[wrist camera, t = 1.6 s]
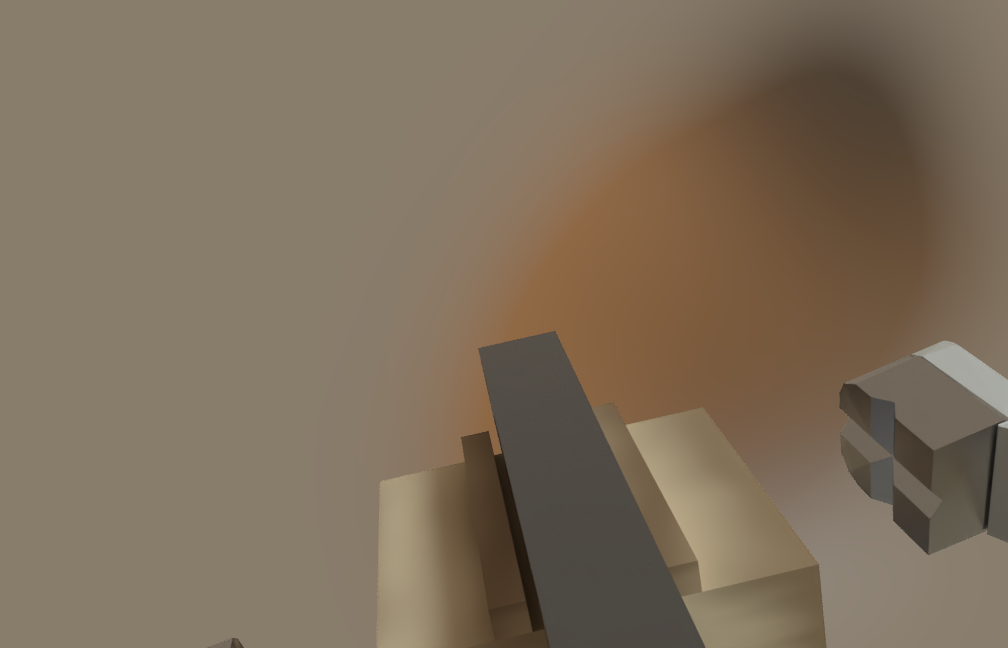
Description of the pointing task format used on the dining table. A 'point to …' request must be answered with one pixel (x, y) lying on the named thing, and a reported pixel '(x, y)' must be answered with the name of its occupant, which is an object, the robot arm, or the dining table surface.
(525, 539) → the steel block
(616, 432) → the maple stand
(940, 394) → the robot arm
